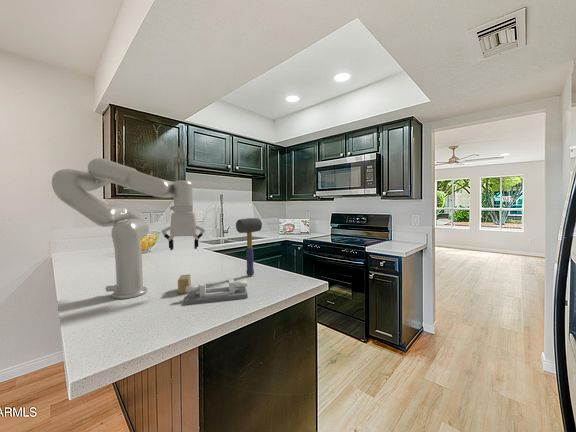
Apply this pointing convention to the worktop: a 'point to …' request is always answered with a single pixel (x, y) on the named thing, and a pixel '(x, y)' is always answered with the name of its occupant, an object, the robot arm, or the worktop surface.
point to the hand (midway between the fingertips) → (183, 249)
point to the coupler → (183, 283)
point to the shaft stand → (216, 292)
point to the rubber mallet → (249, 238)
